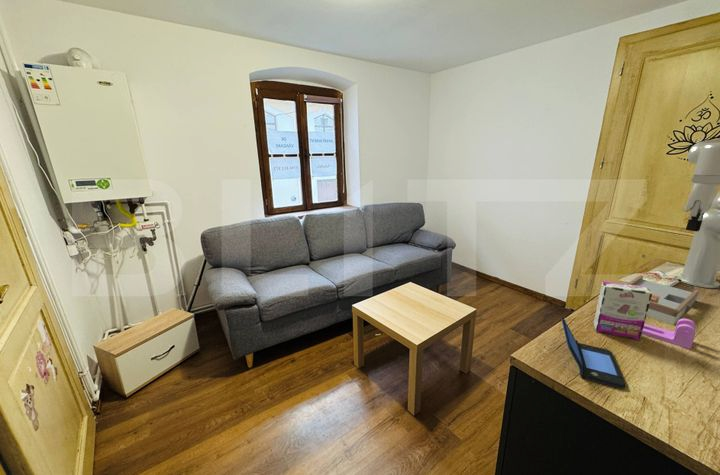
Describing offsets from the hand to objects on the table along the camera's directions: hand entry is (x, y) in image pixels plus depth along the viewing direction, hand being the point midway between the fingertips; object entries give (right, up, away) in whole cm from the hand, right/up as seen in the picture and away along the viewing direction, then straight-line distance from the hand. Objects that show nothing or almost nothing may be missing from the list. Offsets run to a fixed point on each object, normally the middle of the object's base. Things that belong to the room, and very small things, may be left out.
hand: (692, 230), depth 107 cm
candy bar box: (-40, -34, -13) cm, 54 cm away
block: (-19, -26, -2) cm, 32 cm away
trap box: (-11, -28, +4) cm, 30 cm away
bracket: (-27, -34, -15) cm, 46 cm away
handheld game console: (-59, -38, -25) cm, 75 cm away
